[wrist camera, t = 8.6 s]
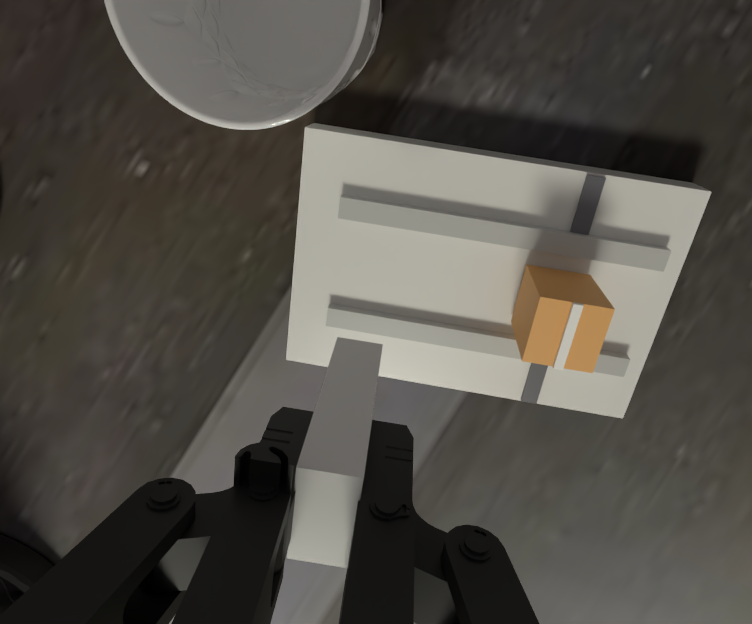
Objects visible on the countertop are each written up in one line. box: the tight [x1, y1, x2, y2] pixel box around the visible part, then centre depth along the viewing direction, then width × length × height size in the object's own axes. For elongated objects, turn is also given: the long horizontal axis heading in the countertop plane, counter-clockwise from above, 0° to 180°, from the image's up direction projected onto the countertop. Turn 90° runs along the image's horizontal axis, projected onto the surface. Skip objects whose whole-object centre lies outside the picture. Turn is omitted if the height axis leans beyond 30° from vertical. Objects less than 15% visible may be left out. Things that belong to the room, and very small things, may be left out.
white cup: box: [104, 0, 383, 130], centre depth 20 cm, size 8×8×10 cm
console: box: [286, 123, 711, 418], centre depth 28 cm, size 18×12×3 cm, turn 82°
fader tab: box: [511, 264, 615, 373], centre depth 25 cm, size 3×3×4 cm
